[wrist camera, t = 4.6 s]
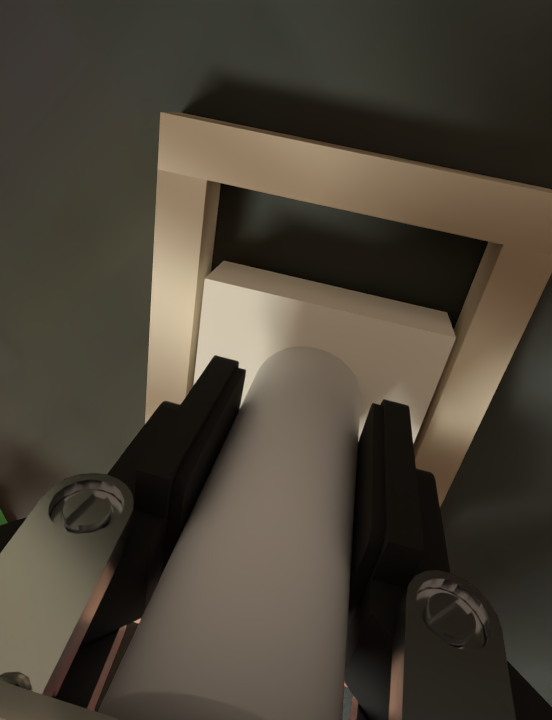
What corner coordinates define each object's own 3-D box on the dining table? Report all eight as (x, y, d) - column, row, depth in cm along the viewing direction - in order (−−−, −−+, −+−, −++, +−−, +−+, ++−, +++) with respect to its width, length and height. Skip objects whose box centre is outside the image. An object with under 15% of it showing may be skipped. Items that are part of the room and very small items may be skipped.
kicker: (223, 260, 13) (-77, 541, 4) (447, 312, 12) (601, 744, 4) (195, 489, 17) (11, 864, 8) (362, 535, 16) (346, 984, 8)
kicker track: (180, 112, 12) (161, 111, 10) (565, 192, 11) (586, 200, 10) (153, 502, 18) (139, 525, 17) (395, 569, 17) (396, 599, 16)
